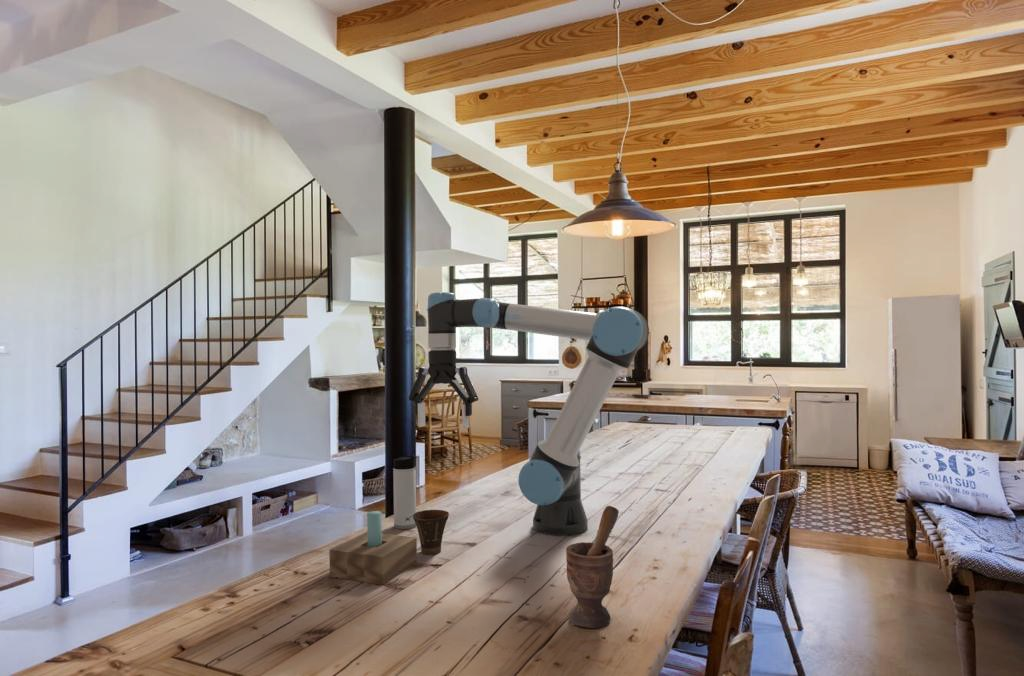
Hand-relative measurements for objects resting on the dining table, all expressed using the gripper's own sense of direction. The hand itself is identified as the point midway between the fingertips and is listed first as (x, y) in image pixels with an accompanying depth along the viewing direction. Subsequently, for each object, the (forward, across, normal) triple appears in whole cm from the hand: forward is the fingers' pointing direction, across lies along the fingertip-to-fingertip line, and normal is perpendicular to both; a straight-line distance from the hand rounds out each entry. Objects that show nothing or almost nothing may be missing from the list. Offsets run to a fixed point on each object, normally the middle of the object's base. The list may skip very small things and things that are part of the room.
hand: (443, 427), depth 170 cm
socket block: (+29, +2, +30) cm, 42 cm away
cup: (+29, -4, +14) cm, 33 cm away
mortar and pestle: (+29, -51, +37) cm, 69 cm away
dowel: (+28, +2, +30) cm, 41 cm away
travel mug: (+29, +14, -2) cm, 32 cm away
